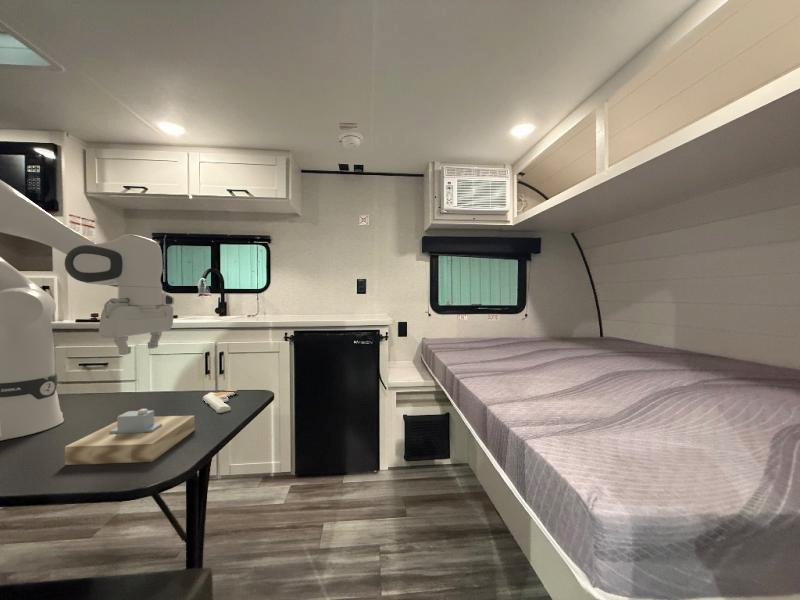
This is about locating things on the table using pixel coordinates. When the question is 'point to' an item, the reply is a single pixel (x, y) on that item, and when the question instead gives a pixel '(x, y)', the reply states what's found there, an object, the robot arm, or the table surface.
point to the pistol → (218, 400)
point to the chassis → (129, 443)
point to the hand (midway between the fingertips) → (139, 351)
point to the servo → (136, 422)
